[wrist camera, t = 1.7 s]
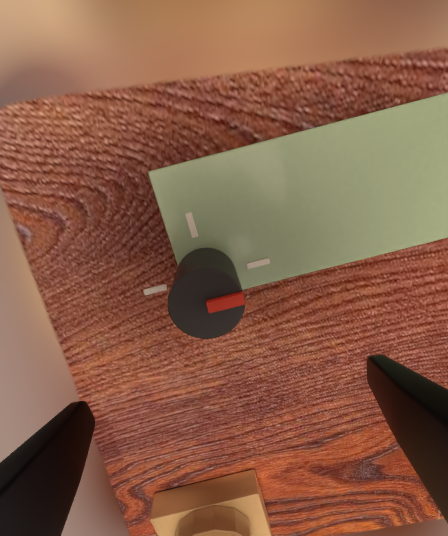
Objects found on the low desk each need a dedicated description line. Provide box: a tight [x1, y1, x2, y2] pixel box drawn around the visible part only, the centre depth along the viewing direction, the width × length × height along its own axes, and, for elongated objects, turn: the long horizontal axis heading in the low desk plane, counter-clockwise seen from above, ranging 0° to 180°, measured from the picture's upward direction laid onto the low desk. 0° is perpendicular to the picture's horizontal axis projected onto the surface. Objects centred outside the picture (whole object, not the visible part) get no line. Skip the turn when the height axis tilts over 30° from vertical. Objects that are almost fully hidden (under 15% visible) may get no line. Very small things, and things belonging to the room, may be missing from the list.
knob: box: [168, 248, 246, 339], centre depth 14 cm, size 4×4×4 cm
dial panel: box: [143, 93, 448, 295], centre depth 17 cm, size 20×10×3 cm, turn 104°
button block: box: [150, 469, 272, 536], centre depth 25 cm, size 10×7×4 cm
